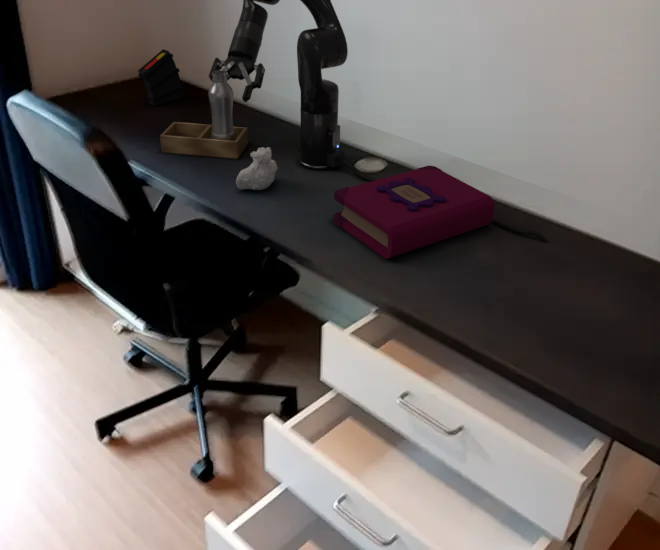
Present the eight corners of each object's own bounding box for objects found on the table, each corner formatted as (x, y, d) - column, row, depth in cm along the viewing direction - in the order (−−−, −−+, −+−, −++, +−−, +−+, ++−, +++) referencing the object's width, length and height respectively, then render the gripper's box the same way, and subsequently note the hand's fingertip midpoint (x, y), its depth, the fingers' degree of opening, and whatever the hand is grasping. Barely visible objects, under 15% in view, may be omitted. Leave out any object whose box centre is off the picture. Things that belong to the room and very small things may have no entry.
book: (491, 228, 155) (497, 196, 151) (389, 263, 142) (392, 229, 138) (428, 191, 170) (431, 162, 166) (330, 220, 156) (331, 188, 152)
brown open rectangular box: (248, 143, 193) (247, 127, 190) (237, 158, 184) (237, 142, 181) (175, 137, 195) (173, 121, 193) (161, 152, 186) (159, 135, 184)
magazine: (191, 90, 224) (170, 50, 213) (162, 117, 219) (139, 78, 208) (184, 88, 226) (163, 48, 215) (154, 114, 222) (131, 75, 210)
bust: (241, 203, 167) (260, 177, 158) (223, 177, 168) (241, 150, 159) (278, 188, 175) (298, 162, 166) (260, 163, 176) (279, 136, 167)
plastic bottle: (207, 151, 187) (201, 75, 176) (218, 142, 193) (213, 67, 182) (230, 154, 185) (225, 77, 175) (240, 145, 191) (236, 70, 180)
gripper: (216, 32, 188) (199, 88, 185) (266, 38, 184) (250, 95, 181) (226, 47, 195) (210, 101, 192) (275, 53, 192) (259, 108, 188)
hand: (229, 98), depth 187 cm, fingers open, 8 cm apart
